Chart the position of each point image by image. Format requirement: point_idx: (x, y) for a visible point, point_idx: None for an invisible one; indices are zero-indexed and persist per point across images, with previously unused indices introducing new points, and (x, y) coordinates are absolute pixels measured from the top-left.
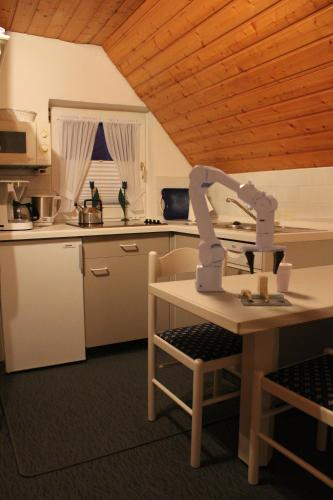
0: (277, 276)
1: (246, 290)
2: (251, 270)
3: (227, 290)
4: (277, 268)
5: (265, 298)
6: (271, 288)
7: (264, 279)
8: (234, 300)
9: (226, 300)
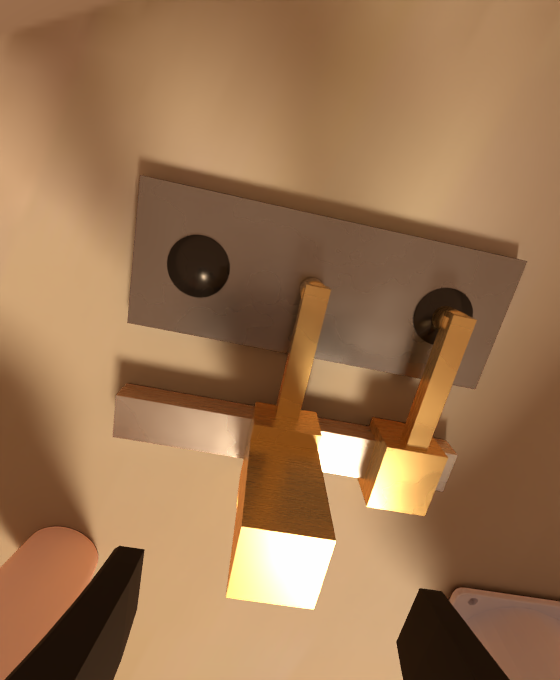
0: None
1: (399, 487)
2: (480, 642)
3: None
4: (69, 621)
5: None
6: None
7: (282, 510)
8: (500, 402)
9: (553, 411)
